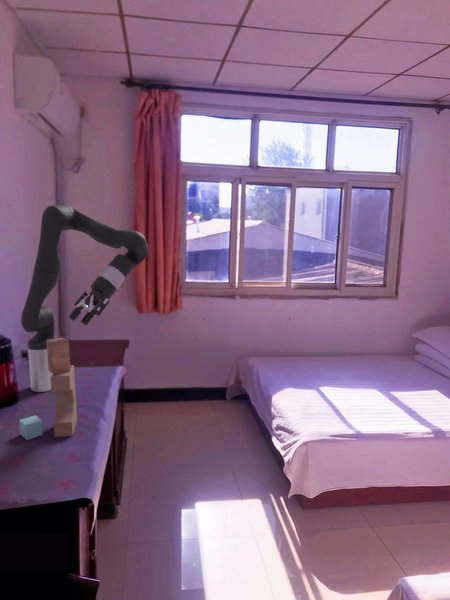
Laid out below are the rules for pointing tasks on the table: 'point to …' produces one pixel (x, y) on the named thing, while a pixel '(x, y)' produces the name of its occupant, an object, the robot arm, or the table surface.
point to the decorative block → (64, 403)
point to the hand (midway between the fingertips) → (77, 321)
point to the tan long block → (58, 356)
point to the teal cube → (31, 427)
